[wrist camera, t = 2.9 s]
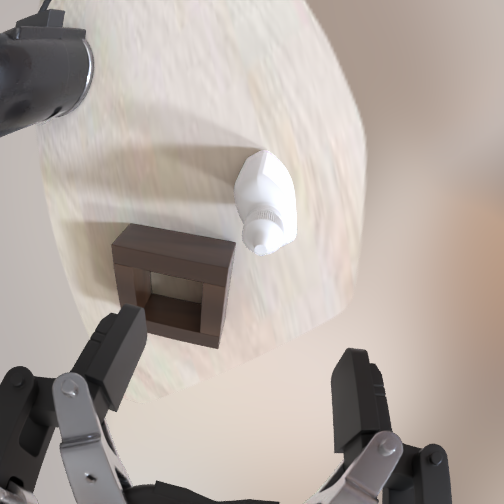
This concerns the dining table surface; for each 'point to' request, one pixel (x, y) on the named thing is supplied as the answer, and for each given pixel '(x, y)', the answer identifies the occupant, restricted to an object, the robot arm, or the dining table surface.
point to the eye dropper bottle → (265, 203)
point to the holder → (179, 265)
